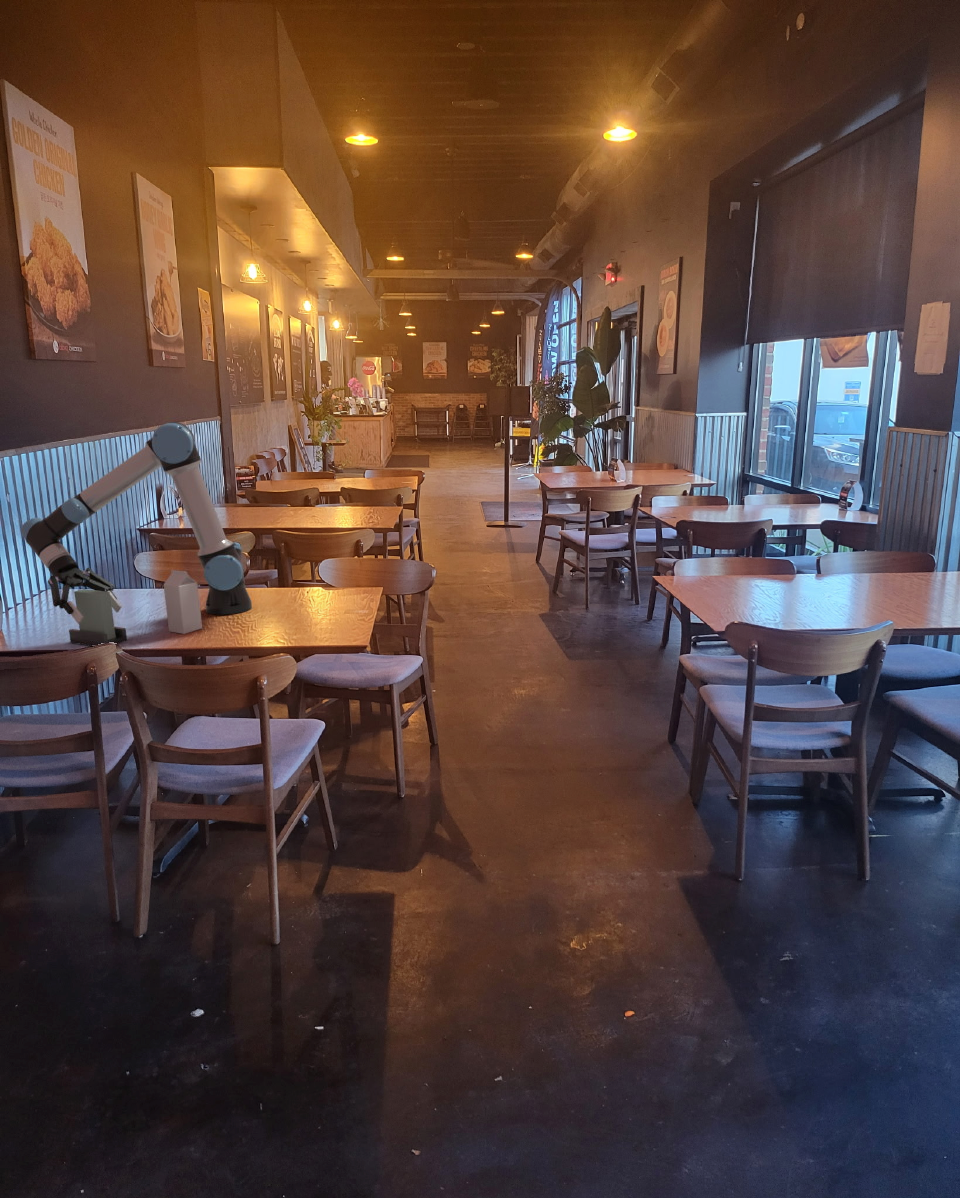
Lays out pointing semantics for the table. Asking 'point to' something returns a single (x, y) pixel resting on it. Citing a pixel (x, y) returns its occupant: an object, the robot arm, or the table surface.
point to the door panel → (95, 611)
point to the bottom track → (96, 637)
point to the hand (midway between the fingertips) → (100, 615)
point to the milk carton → (182, 603)
